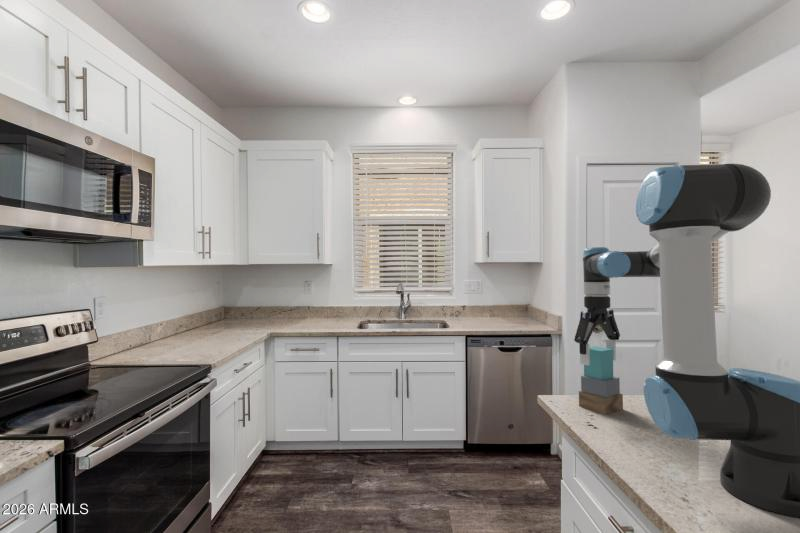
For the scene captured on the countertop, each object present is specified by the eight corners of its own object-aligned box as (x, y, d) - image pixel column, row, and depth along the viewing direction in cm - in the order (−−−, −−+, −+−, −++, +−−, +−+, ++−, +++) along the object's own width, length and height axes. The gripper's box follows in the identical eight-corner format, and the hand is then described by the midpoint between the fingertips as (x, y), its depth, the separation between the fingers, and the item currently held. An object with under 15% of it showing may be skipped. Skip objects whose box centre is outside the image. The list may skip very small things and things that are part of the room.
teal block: (601, 380, 122) (600, 351, 122) (584, 375, 127) (583, 347, 127) (613, 377, 124) (613, 349, 124) (596, 373, 130) (595, 346, 130)
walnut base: (605, 415, 119) (604, 398, 119) (579, 406, 127) (578, 391, 127) (623, 410, 123) (622, 394, 124) (596, 402, 131) (596, 387, 131)
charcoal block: (605, 398, 120) (605, 381, 120) (581, 391, 126) (581, 376, 127) (619, 393, 124) (619, 377, 124) (595, 387, 131) (595, 372, 131)
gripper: (582, 297, 117) (584, 369, 116) (630, 294, 129) (632, 359, 128) (561, 296, 123) (562, 364, 123) (608, 294, 136) (610, 355, 135)
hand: (598, 362), depth 126 cm, fingers open, 13 cm apart
